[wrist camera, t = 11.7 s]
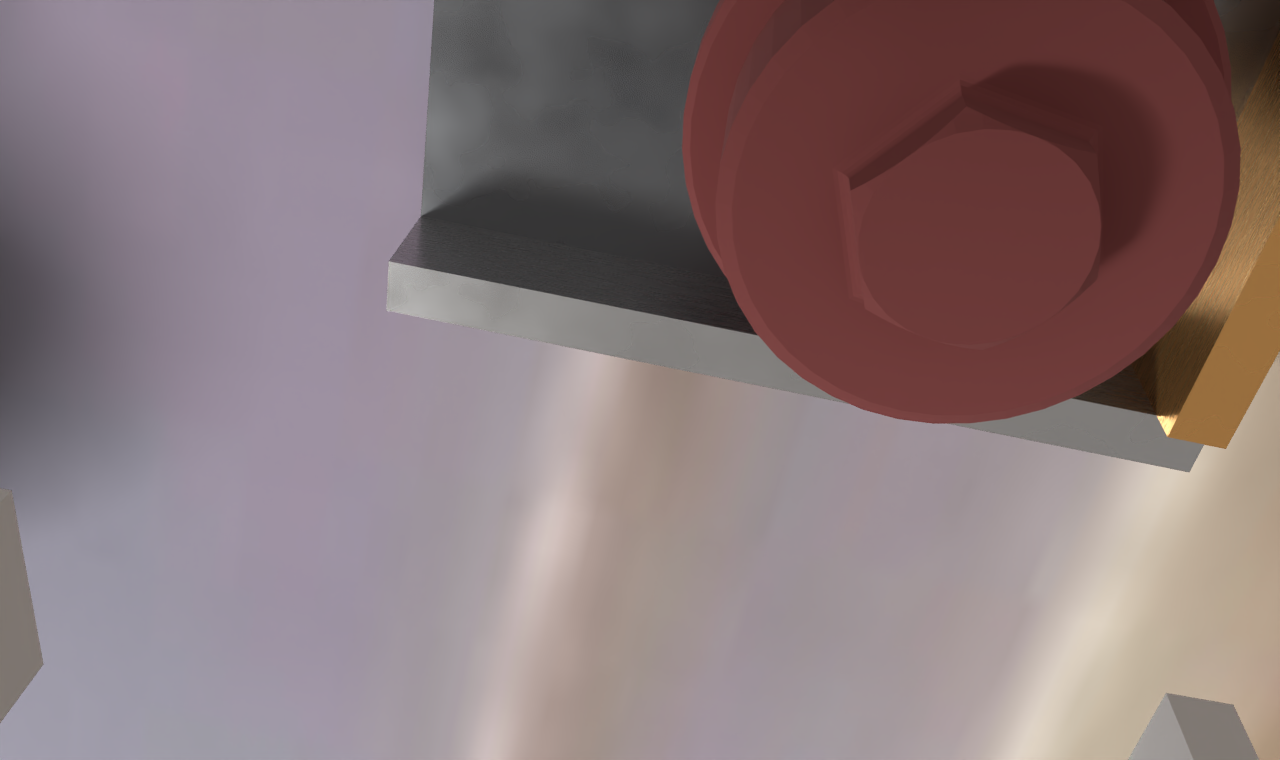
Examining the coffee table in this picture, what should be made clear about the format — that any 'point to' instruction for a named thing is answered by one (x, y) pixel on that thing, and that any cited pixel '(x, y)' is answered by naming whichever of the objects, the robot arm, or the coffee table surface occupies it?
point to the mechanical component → (962, 189)
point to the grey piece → (676, 251)
